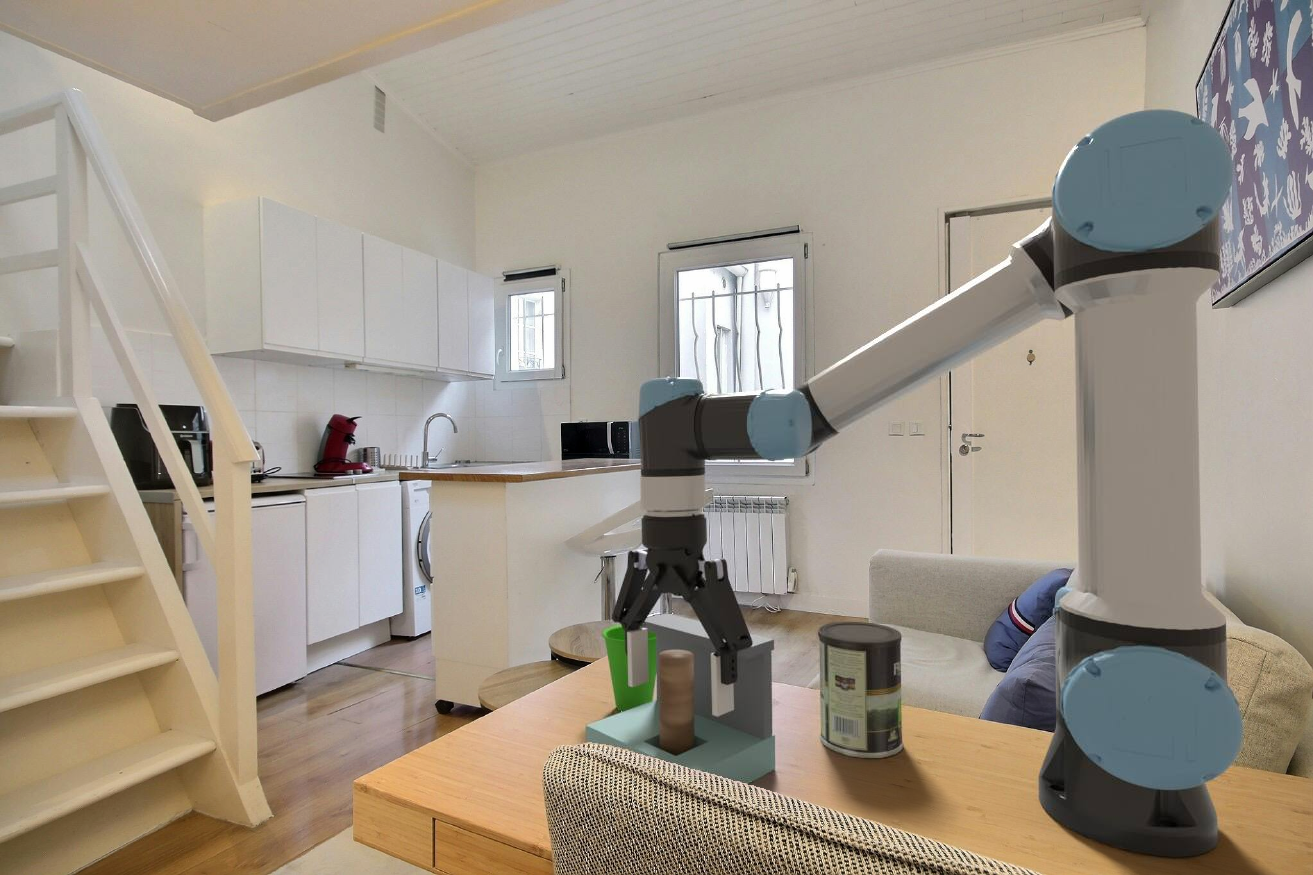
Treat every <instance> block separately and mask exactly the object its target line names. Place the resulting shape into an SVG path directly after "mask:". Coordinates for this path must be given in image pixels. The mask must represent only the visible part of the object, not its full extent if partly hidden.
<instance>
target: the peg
mask: <svg viewBox="0 0 1313 875" xmlns="http://www.w3.org/2000/svg"><path fill="white" fill-rule="evenodd" d="M659 741H660V749H661V750H663V751H665V752H668V753H670V754H672V755H674V756H678V755H680V754H682V753H684V752H687V751H689V750H691V749H693V748H694V655H693V653H692V652H689V651H686V650H667V651H663V652H661V653H659Z"/></svg>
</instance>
